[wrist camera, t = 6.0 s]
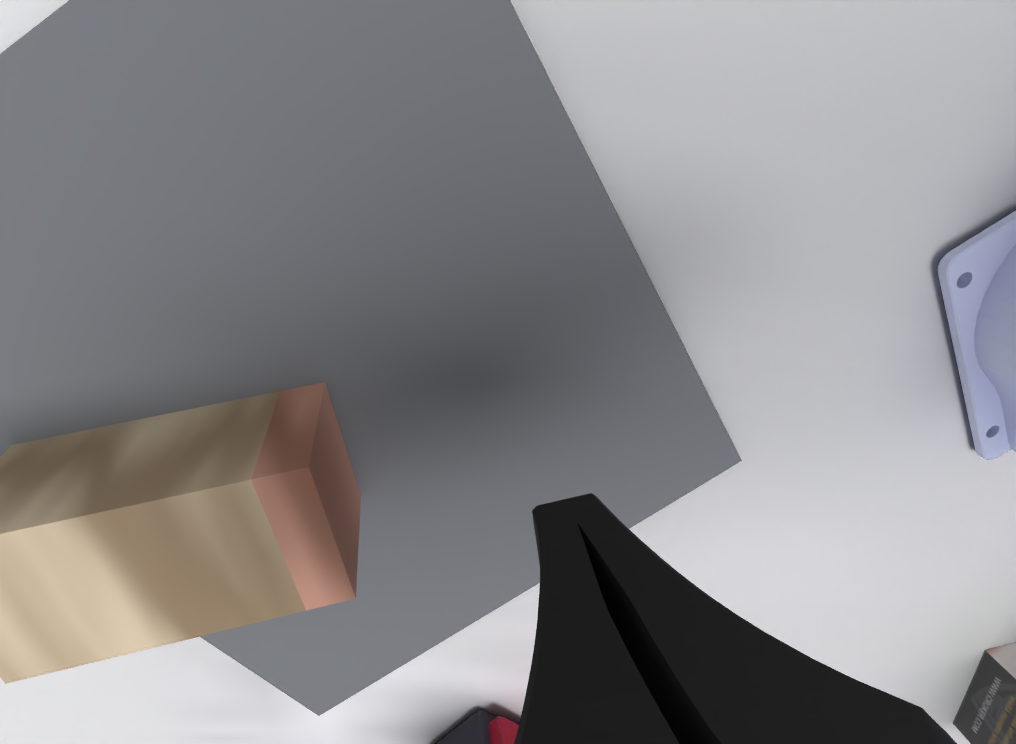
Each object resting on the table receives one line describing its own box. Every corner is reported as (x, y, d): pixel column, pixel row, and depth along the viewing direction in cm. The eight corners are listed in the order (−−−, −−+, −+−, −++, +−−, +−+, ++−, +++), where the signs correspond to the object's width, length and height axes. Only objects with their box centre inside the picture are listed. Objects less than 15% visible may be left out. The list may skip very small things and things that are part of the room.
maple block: (309, 467, 12) (-102, 555, 12) (355, 598, 14) (5, 683, 13) (324, 381, 16) (11, 445, 15) (361, 496, 18) (84, 558, 17)
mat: (736, 455, 20) (741, 460, 20) (319, 708, 22) (319, 715, 22) (385, -238, 11) (385, -246, 11) (-297, 291, 13) (-313, 295, 12)
